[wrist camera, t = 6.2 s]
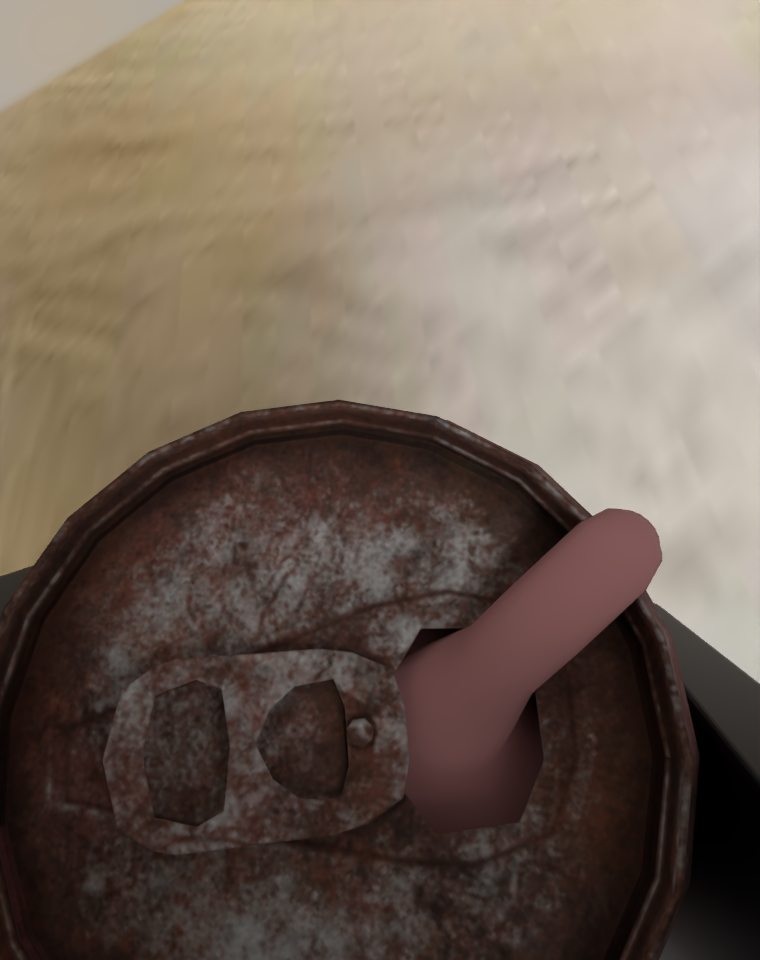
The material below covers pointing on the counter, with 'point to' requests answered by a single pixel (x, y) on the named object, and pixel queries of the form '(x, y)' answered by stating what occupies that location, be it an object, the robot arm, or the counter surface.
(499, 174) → the counter surface
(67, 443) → the counter surface
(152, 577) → the can
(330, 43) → the counter surface
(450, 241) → the counter surface
